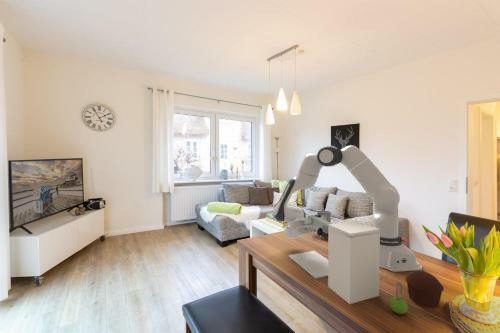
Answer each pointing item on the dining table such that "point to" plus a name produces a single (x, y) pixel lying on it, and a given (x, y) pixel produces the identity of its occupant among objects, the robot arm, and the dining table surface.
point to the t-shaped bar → (320, 223)
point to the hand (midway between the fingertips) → (315, 219)
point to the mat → (312, 263)
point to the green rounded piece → (398, 301)
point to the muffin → (424, 289)
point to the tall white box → (353, 260)
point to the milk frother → (328, 218)
